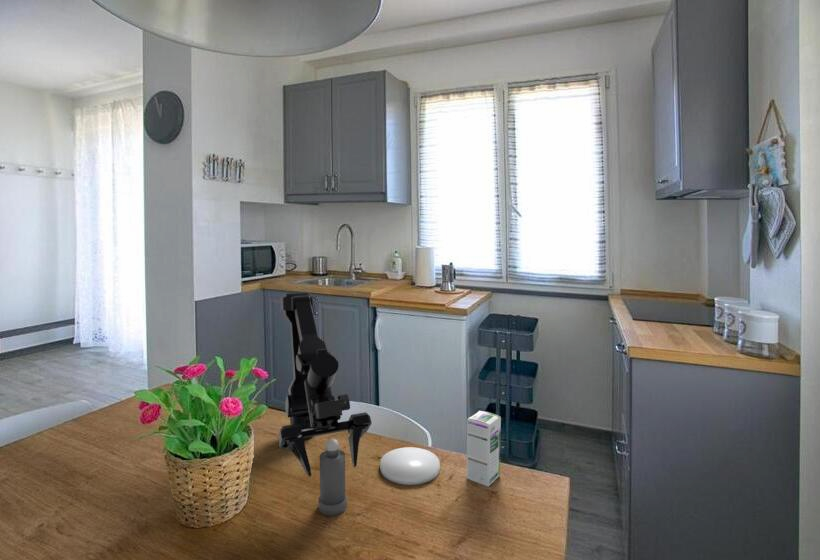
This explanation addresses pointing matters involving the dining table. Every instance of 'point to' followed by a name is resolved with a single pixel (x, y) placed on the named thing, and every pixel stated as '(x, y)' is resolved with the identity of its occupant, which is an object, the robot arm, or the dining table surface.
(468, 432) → the syrup box
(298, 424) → the robot arm
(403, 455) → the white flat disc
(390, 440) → the dining table surface
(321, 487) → the pepper mill
